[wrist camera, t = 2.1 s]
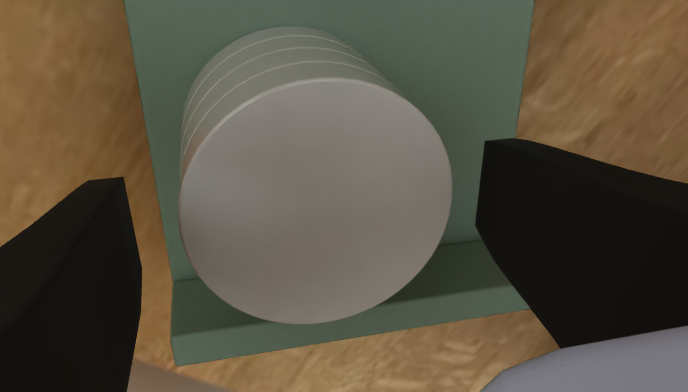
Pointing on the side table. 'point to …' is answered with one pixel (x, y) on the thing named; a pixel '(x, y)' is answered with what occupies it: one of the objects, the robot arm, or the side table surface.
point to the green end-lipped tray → (411, 79)
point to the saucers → (307, 179)
